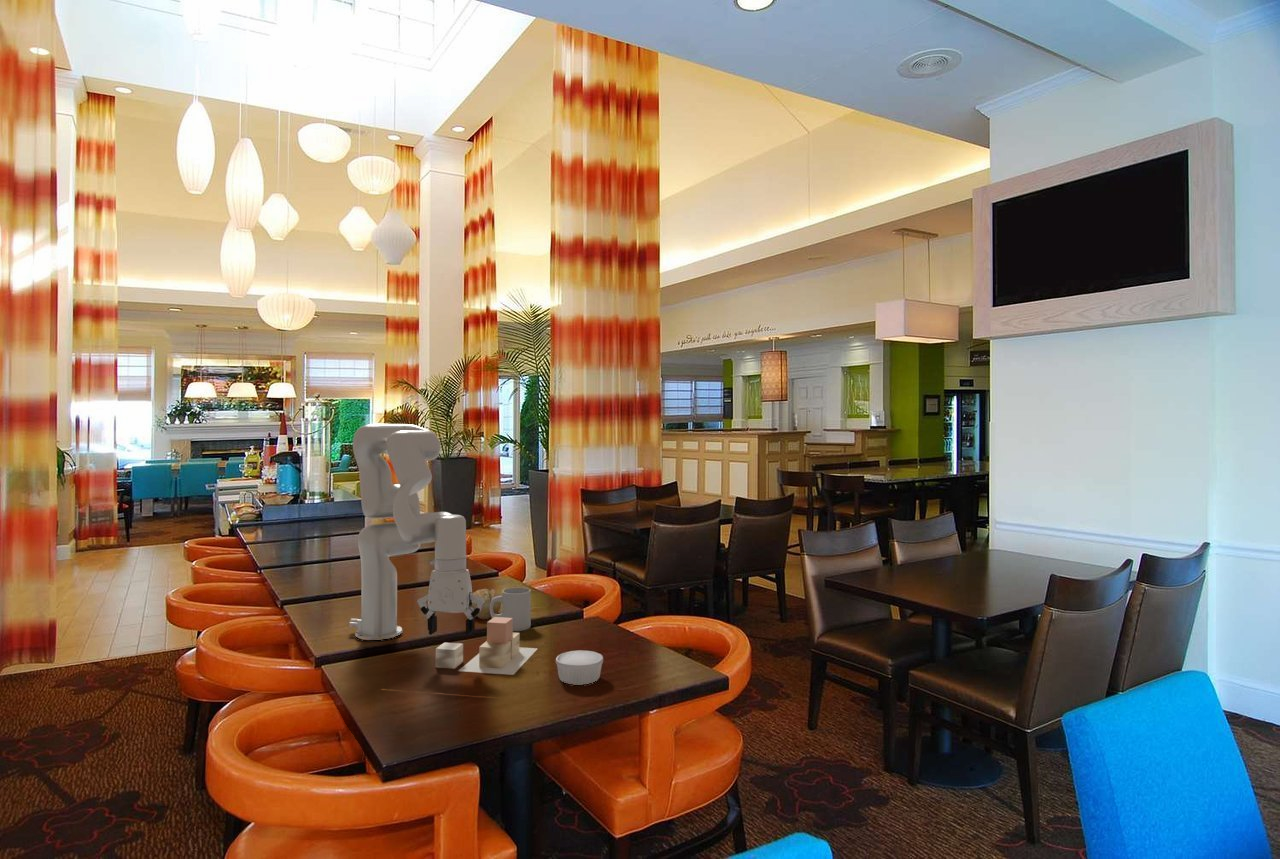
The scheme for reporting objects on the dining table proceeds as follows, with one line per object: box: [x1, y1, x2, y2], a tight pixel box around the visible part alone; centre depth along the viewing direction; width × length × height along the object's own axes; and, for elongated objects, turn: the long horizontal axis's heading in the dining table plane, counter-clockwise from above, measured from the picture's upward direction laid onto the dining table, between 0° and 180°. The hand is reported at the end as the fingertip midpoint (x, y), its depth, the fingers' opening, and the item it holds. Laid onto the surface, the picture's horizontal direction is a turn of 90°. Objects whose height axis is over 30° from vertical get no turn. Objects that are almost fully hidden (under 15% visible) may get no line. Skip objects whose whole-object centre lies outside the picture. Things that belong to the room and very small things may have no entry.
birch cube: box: [435, 642, 464, 670], centre depth 175 cm, size 5×5×5 cm
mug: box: [490, 586, 532, 632], centre depth 208 cm, size 12×8×11 cm
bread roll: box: [472, 587, 502, 620], centre depth 222 cm, size 10×15×8 cm, turn 24°
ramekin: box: [555, 649, 604, 686], centre depth 167 cm, size 11×11×5 cm
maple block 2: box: [509, 631, 521, 659], centre depth 183 cm, size 6×6×5 cm
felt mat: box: [458, 646, 539, 676], centre depth 180 cm, size 14×20×1 cm
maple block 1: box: [478, 640, 511, 669], centre depth 176 cm, size 6×6×5 cm
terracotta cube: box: [486, 617, 514, 643], centre depth 180 cm, size 5×5×5 cm
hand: (451, 633), depth 175 cm, fingers open, 9 cm apart
